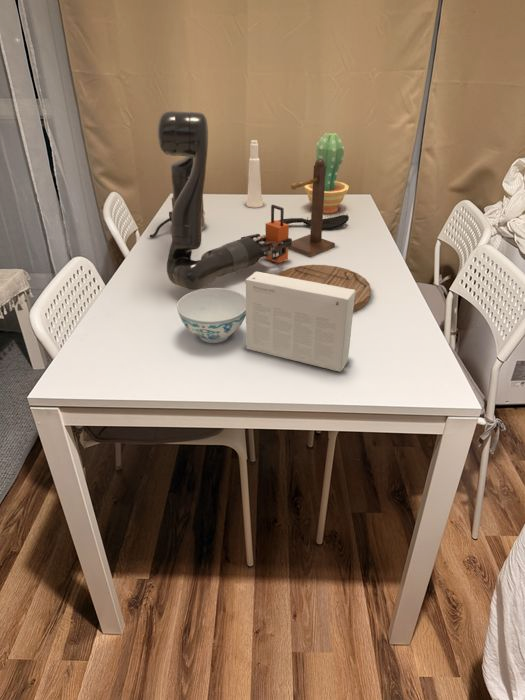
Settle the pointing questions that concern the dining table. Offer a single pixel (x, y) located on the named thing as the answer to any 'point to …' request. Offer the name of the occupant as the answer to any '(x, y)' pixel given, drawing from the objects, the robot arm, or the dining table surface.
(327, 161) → the potted cactus
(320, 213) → the hook stand
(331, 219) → the hairbrush
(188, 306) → the chinaware
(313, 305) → the skincare box
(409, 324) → the dining table surface
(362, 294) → the trivet
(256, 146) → the cosmetic bottle
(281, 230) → the orange handled weight
